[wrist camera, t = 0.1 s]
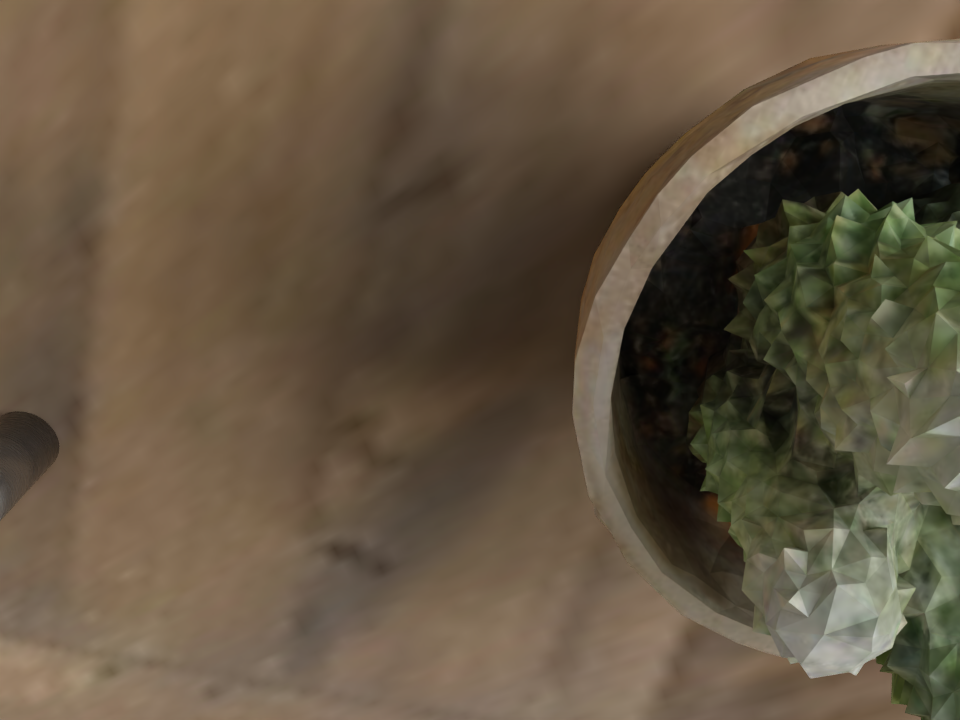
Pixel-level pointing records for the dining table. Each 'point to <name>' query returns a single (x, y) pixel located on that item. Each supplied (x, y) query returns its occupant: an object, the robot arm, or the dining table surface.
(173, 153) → the dining table surface
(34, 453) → the posts
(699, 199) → the potted plant
